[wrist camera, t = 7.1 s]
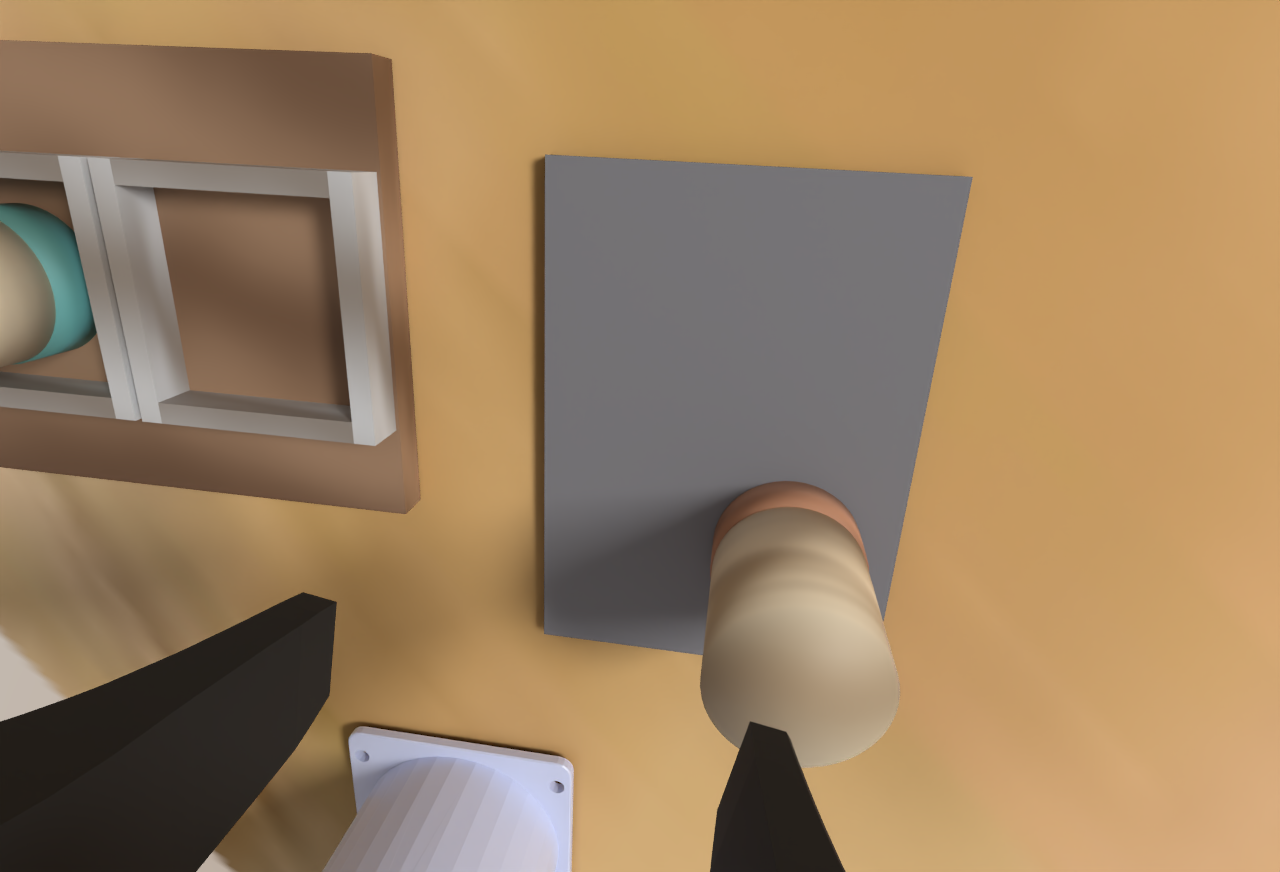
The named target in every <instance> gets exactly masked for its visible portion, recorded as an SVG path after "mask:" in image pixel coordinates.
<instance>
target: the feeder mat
mask: <svg viewBox="0 0 1280 872" xmlns="http://www.w3.org/2000/svg"><path fill="white" fill-rule="evenodd" d="M971 182H972V177H963V176H943V175H924V174H905V173H886V172H867V171H848V170H829V169H810V168H791V167H771V166H752V165H733V164H714V163H695V162H676V161H657V160H638V159H619V158H599V157H580V156H561V155H545V475H544V634H548V635H556V636H563V637H571V638H578V639H586V640H593V641H601V642H608V643H616V644H623V645H631V646H638V647H646V648H653V649H661V650H668V651H675V652H683V653H690V654H698V655H703V649H704V640H705V630H706V621H707V611H708V601H709V592H710V582H711V578H710V564H711V555H712V546H713V537H714V532H715V528H716V525H717V523H718V521H719V519H720V517H721V515H722V513H723V512H724V510H725V509H726V508H727V507H728V506H729V504H730V503H731V502H732V501H733V500H735V499H736V498H737V497H738V496H740V495H741V494H743V493H744V492H746V491H748V490H750V489H752V488H754V487H756V486H759V485H763V484H766V483H771V482H778V481H796V482H802V483H807V484H810V485H813V486H816V487H819V488H821V489H823V490H825V491H827V492H828V493H830V494H832V495H833V496H835V497H836V498H837V499H838V500H840V501H841V502H842V503H843V504H844V505H845V506H846V507H847V509H848V510H849V511H850V513H851V514H852V516H853V518H854V519H855V521H856V523H857V526H858V529H859V532H860V535H861V539H862V542H863V546H864V549H865V553H866V556H867V560H868V565H869V574H870V578H871V581H872V585H873V588H874V592H875V595H876V599H877V602H878V606H879V609H880V613H881V616H882V620H883V621H884V616H885V611H886V606H887V601H888V596H889V591H890V586H891V581H892V576H893V571H894V566H895V561H896V556H897V551H898V546H899V541H900V536H901V531H902V526H903V521H904V516H905V511H906V506H907V501H908V496H909V491H910V486H911V481H912V476H913V471H914V466H915V461H916V456H917V451H918V446H919V441H920V436H921V431H922V426H923V421H924V416H925V411H926V407H927V402H928V397H929V392H930V387H931V382H932V377H933V372H934V367H935V362H936V357H937V352H938V347H939V342H940V337H941V332H942V327H943V322H944V317H945V312H946V307H947V302H948V297H949V292H950V287H951V282H952V277H953V272H954V267H955V262H956V257H957V252H958V247H959V242H960V237H961V232H962V227H963V222H964V217H965V212H966V207H967V202H968V197H969V192H970V187H971Z"/></svg>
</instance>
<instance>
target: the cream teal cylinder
mask: <svg viewBox="0 0 1280 872" xmlns="http://www.w3.org/2000/svg"><path fill="white" fill-rule="evenodd" d="M96 333H97V331H96V326H95V322H94V317H93V313H92V308H91V304H90V299H89V295H88V290H87V286H86V281H85V277H84V272H83V268H82V263H81V259H80V254H79V250H78V245H77V241H76V236H75V232H74V231H73V230H72V229H71V228H70V227H69V226H68V225H67V224H65V223H64V222H63V221H62V220H60V219H59V218H58V217H56V216H55V215H53V214H51V213H49V212H48V211H46V210H43V209H41V208H39V207H36V206H33V205H29V204H23V203H0V367H4V366H7V365H11V364H12V365H14V364H22V363H26V362H30V361H33V360H37V359H41V358H44V357H48V356H52V355H56V354H59V353H63V352H67V351H70V350H74V349H77V348H79V347H81V346H83V345H85V344H86V343H88V342H89V341H90V340H91V339H92V338H93V337H94V336H95V335H96Z"/></svg>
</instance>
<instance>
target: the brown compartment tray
mask: <svg viewBox="0 0 1280 872" xmlns="http://www.w3.org/2000/svg"><path fill="white" fill-rule="evenodd" d="M0 203H23V204H29V205H33V206H36V207H39V208H41V209H43V210H46V211H48V212H49V213H51V214H53V215H55V216H56V217H58V218H59V219H60V220H62V221H63V222H64V223H65V224H67V225H68V226H69V227H70V228H71V229H72V230H73V231H74V232H75V236H76V241H77V245H78V250H79V254H80V259H81V263H82V268H83V272H84V277H85V281H86V286H87V290H88V295H89V299H90V304H91V308H92V313H93V317H94V322H95V326H96V331H97V333H96V335H95V336H94V337H93V338H92V339H91V340H90V341H89V342H88V343H86V344H85V345H83V346H81V347H79V348H77V349H74V350H70V351H67V352H63V353H59V354H56V355H52V356H48V357H44V358H41V359H37V360H33V361H30V362H26V363H22V364H14V365H12V364H11V365H7V366H4V367H0V467H5V468H13V469H22V470H30V471H39V472H48V473H56V474H65V475H74V476H82V477H91V478H99V479H108V480H117V481H125V482H134V483H142V484H151V485H160V486H168V487H177V488H185V489H194V490H203V491H211V492H220V493H228V494H237V495H246V496H254V497H263V498H271V499H280V500H289V501H297V502H306V503H314V504H323V505H332V506H340V507H349V508H357V509H366V510H375V511H383V512H392V513H401V514H406V513H407V512H408V511H409V510H410V509H411V508H412V507H413V506H414V505H415V504H416V503H417V502H418V501H419V500H420V485H419V470H418V454H417V439H416V424H415V409H414V394H413V379H412V363H411V348H410V333H409V318H408V303H407V288H406V272H405V257H404V242H403V227H402V212H401V197H400V181H399V166H398V151H397V136H396V121H395V106H394V91H393V75H392V60H391V59H388V58H385V57H381V56H378V55H375V54H369V53H341V52H314V51H286V50H259V49H231V48H203V47H176V46H148V45H120V44H93V43H65V42H38V41H10V40H0Z"/></svg>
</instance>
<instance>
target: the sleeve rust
mask: <svg viewBox="0 0 1280 872" xmlns="http://www.w3.org/2000/svg"><path fill="white" fill-rule="evenodd" d="M710 578H711V582H710V592H709V601H708V611H707V621H706V630H705V640H704V649H703V659H702V669H701V682H700V689H701V696H702V700H703V704H704V707H705V709H706V711H707V714H708V716H709V718H710V719H711V721H712V722H713V724H714V725H715V727H716V728H717V729H718V730H719V732H720V733H721V734H722V735H723V736H724V737H725V738H726V739H727V740H729V741H730V742H731V743H732V744H733V745H735V746H736V747H738V748H739V749H740V747H741V744H742V742H743V739H744V736H745V733H746V731H747V728H748V725H749V722H750V721H751V722H755V723H758V724H762V725H765V726H769V727H772V728H775V729H779V730H782V731H786V732H787V734H788V735H789V737H790V739H791V742H792V744H793V747H794V750H795V753H796V755H797V758H798V761H799V764H800V766H801V767H821V766H827V765H832V764H836V763H839V762H842V761H845V760H848V759H850V758H852V757H855V756H857V755H859V754H860V753H862V752H864V751H865V750H867V749H868V748H870V747H871V746H872V745H873V744H875V743H876V742H877V741H878V740H879V739H880V738H881V737H882V736H883V735H884V734H885V732H886V731H887V729H888V728H889V726H890V725H891V723H892V721H893V719H894V717H895V715H896V712H897V709H898V705H899V698H900V683H899V678H898V673H897V669H896V666H895V662H894V659H893V655H892V652H891V648H890V645H889V641H888V638H887V634H886V631H885V627H884V623H883V620H882V616H881V613H880V609H879V606H878V602H877V599H876V595H875V592H874V588H873V585H872V581H871V578H870V574H869V565H868V560H867V556H866V553H865V549H864V546H863V542H862V539H861V535H860V532H859V529H858V526H857V523H856V521H855V519H854V518H853V516H852V514H851V513H850V511H849V510H848V509H847V507H846V506H845V505H844V504H843V503H842V502H841V501H840V500H838V499H837V498H836V497H835V496H833V495H832V494H830V493H828V492H827V491H825V490H823V489H821V488H819V487H816V486H813V485H810V484H807V483H802V482H796V481H778V482H771V483H766V484H763V485H759V486H756V487H754V488H752V489H750V490H748V491H746V492H744V493H743V494H741V495H740V496H738V497H737V498H736V499H735V500H733V501H732V502H731V503H730V504H729V506H728V507H727V508H726V509H725V510H724V512H723V513H722V515H721V517H720V519H719V521H718V523H717V525H716V528H715V532H714V537H713V546H712V555H711V564H710Z"/></svg>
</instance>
